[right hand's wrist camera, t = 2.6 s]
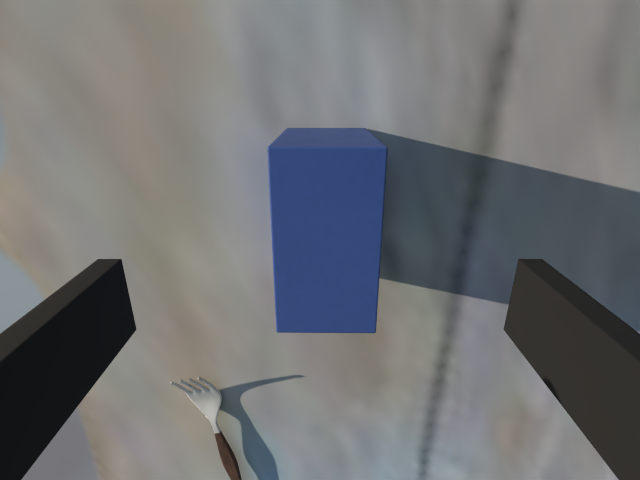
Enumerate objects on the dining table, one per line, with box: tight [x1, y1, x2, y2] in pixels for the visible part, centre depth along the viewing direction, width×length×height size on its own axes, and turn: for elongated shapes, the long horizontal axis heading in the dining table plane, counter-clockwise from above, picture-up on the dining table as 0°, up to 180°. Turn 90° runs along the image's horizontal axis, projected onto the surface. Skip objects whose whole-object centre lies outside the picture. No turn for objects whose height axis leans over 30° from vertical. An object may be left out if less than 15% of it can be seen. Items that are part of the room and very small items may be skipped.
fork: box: [170, 377, 242, 480], centre depth 31 cm, size 3×16×2 cm, turn 12°
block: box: [267, 128, 387, 333], centre depth 21 cm, size 9×5×8 cm, turn 0°
